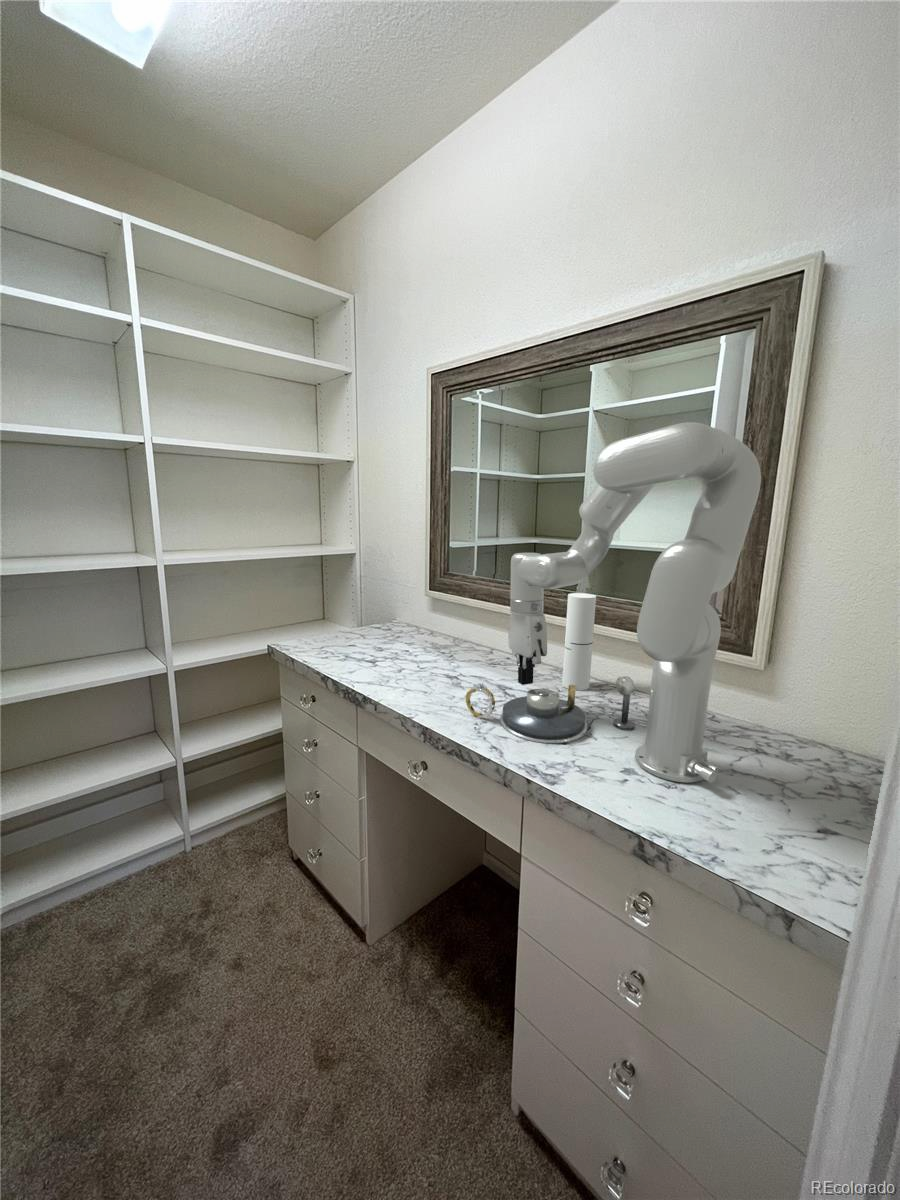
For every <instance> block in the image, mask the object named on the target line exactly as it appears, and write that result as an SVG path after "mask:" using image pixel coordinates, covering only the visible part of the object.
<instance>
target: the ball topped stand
mask: <svg viewBox="0 0 900 1200" xmlns="http://www.w3.org/2000/svg"><path fill="white" fill-rule="evenodd" d="M615 687H616V690H617V692H618V694H620V695H621V696H622V707H621V717H620V718H619V717H617V718H614V719H613V727H615V728H617V729H619V730H621V731H633V730H635V728H636V724H635V722H634V721H633V720H630V719H629V713H630V701H631V695H632V694H633V693H634V691H635V683H634V681H633V679H632V678H631V677H630V676H628V675H623V676H618V677H617V679H616V681H615Z"/></svg>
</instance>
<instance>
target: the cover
mask: <svg viewBox="0 0 900 1200" xmlns="http://www.w3.org/2000/svg"><path fill="white" fill-rule="evenodd" d="M526 694H527V695H526V696H527V710H526V711H527V713H529V714H530V715H532V716H535V717H539V718H553V717H556V716H557V715H558V713H559V699H560V694H559V693H558V692H557V691H555V690H552V689H548V688H547V689H546V688H533V689H532V688H531V689H530V690H528V691H527V692H526Z"/></svg>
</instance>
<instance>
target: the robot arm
mask: <svg viewBox="0 0 900 1200" xmlns="http://www.w3.org/2000/svg"><path fill="white" fill-rule="evenodd" d="M760 467H761V466H760V464H759V461H758V459H757V456H756V455H755V453H754V452H753V451H752V450H751V449H750V447H748V446H747V445H746V444H745V443H743V442H742V441H741V440H740V439H738V438H736V437H735V436H733V435H732V434H729V433H728V432H726V431H723V430H721V429H718V428H715V427H713V426H710V425H707V424H705V423H701V422H696V421H695V422H694V421H692V422H691V421H690V422H686V421H685V422H680V423H676V424H672V425H668V426H664V427H661V428H657V429H653V430H650V431H646V432H644V433H640V434H637V435H632V436H628V437H625V438H621V439H619V440H616V441H614V442H612V443H609V444H608V445H607V446H605V447H604V448H603V449H602V450H601V451H600V452H599V453H598V455H597V457H596V459H595V460H594V463H593V476H594V480H595V482H596V485H595V486H594V488H593V489H592V490H591V492H590V493H589V494H588V495H587V497H586V498H585V499H584V501H583V502H582V503H581V504H580V506H579V510H578V513H579V516H580V518H581V520H582V522H584V523H583V524H584V525H583V529H582V531H581V533H580V535H579V536H578V537H577V539H576V540H575V542H574V543H573V544H572V545H571V547H570V548H569V549H568V550H567V551H562V552H554V553H543V554H541V553H539V552H538V553H537V552H517V553H514V554H513V555H512V556H511V558H510V559H511V560H510V592H509V593H510V600H509V601H510V603H509V605H510V609H509V610H510V611H509V612H510V615H509V620H508V621H509V623H508V638H507V639H508V648H509V649H510V650H511V653H512V655H513V656H514V657H515V658H516V665H517V669H518V670H517V683H519V684H521V685H522V686H524V685H531V684H534V668H535V667H536V665H541V664H542V657H546V656H548V631H547V629H548V628H547V622H546V621H547V620H546V616H545V613H544V596H545V595H544V589H546V590H554V589H559V588H563V587H569V586H573V585H577V584H579V583H581V582H583V581H584V580H586V579H587V578H588V577H589V576H590V575H591V574H592V572H593V571H594V570H595V569H596V568H597V567H598V565H600V563H601V562H602V561H603V559H605V556H606V555H607V553H608V551H609V549H610V546H611V544H612V542H613V539H614V536H615V533H616V532H617V530H618V529H619V528H620V527H621V525H623V523H624V522H625V521H626V519H627V518H628V517H629V516H630V515H631V513H633V511H634V510H635V509H636V508H637V506H639V504H640V503H641V502H642V501H643V500H644V499H645V497H647V495H648V494H649V493H650V491H651V490H652V489H653V488H654V487H655V486H656V484H661V483H666V482H672V481H680V480H685V481H691V482H698V483H699V484H701V487H702V488H701V489H702V490H701V491H702V492H701V494H700V496H699V498H698V499H697V501H696V504H695V506H694V508H693V512H692V514H691V517H690V518H691V519H690V523H689V526H688V529H687V532H686V534H685V537H684V539H683V540H679V541H677V542H674V543H672V544H670V545H669V546H667V547H666V548H665V549H664V550H663V551H662V552H661V553H660V554H659V556H658V557H657V559H656V560H655V562H654V564H653V568H652V570H651V573H650V577H649V580H648V583H647V587H646V591H645V593H644V598H643V601H642V605H641V608H640V611H639V615H638V619H637V626H636V637H637V640H638V644H639V646H640V648H641V649H642V650H643V653H645V654H646V655H647V656H648V657H649V658H651V659H653V660H654V661H653V668H652V675H651V681H650V691H649V693H650V694H649V702H648V710H647V713H648V714H647V721H646V722H647V723H646V731H645V732H646V733H645V740H644V741H645V742H644V744H641V745H640V746H638V747H637V748H636V750H635V752H634V753H635V754H634V758H635V761H636V763H637V765H639V766H640V767H641V768H642V769H643V770H644V771H646V772H648V773H649V774H651V775H653V776H656V777H658V778H660V779H661V778H662V779H664V780H668V781H672V782H676V783H689V784H690V783H699V782H702V781H704V780H705V781H707V782H708V783H710V784H711V783H714V782H715V781H716V779H717V776H718V775H717V774H718V773H719V772H720V768H719V766H716V764H713V763H710V762H708V761H709V760H708V751H707V750H705V749H703V745H704V744H703V743H704V736H705V729H706V722H707V721H706V719H707V714H708V704H709V698H710V697H709V696H710V692H711V684H712V675H713V669H714V664H715V659H716V655H717V652H718V649H719V644H720V639H721V635H722V634H721V633H722V626H721V620H720V617H719V615H718V612H717V611H716V610H715V608H713V606H712V605H711V604H709V603H710V601H711V598H712V595H713V594H715V593H718V592H720V591H722V590H723V589H725V588H726V587H728V585H729V584H730V582H732V579H733V578H734V576H735V572H736V569H737V565H738V562H739V558H740V554H741V552H742V549H743V546H744V543H745V540H746V537H747V534H748V531H749V527H750V523H751V521H752V516H753V513H754V510H755V508H756V505H757V502H758V497H759V495H760V489H761V483H762V473H761V468H760Z"/></svg>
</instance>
